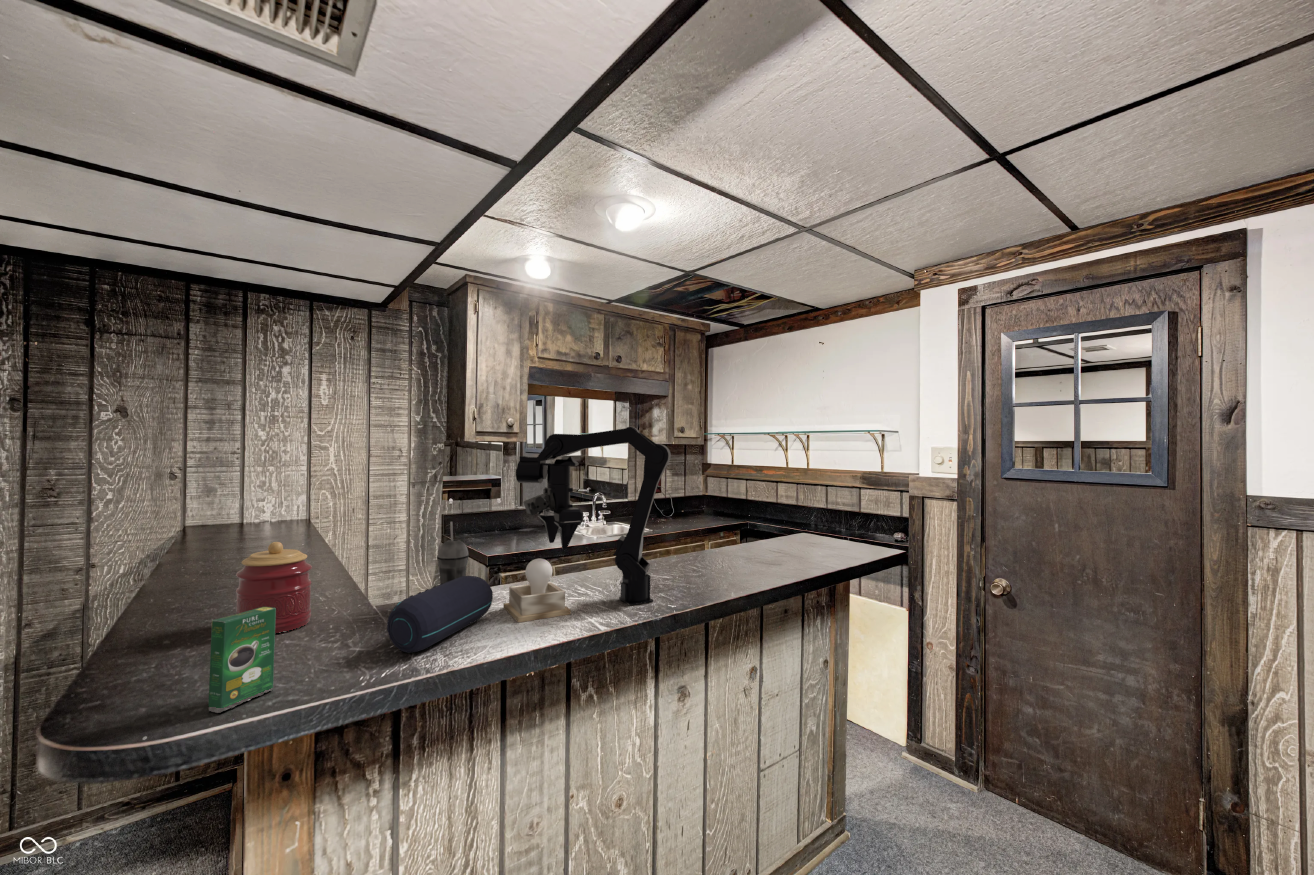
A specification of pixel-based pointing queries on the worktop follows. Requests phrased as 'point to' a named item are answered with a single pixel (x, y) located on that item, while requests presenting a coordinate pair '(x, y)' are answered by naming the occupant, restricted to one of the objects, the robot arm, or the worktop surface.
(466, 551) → the beverage cup
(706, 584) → the worktop surface
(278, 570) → the canister
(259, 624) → the coffee box
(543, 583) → the lightbulb
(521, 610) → the box
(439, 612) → the portable speaker
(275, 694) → the worktop surface
